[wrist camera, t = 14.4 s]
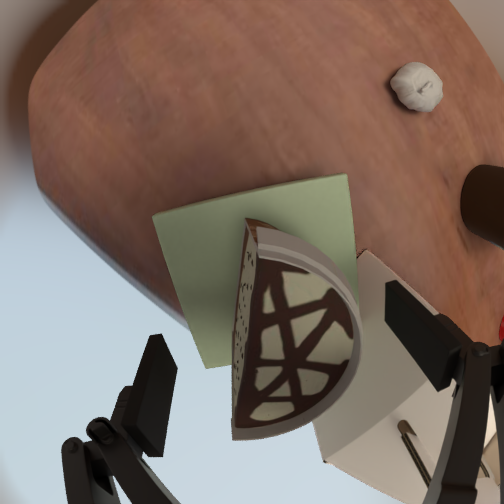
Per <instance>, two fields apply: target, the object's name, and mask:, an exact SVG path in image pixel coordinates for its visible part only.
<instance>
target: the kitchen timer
mask: <svg viewBox="0 0 504 504" xmlns="http://www.w3.org/2000/svg"><path fill="white" fill-rule="evenodd" d="M499 337H500V340H501V341H502V340H503V338H504V316H503V319H502V322H501V326H500V331H499Z"/></svg>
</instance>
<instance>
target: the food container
mask: <svg viewBox="0 0 504 504" xmlns="http://www.w3.org/2000/svg"><path fill="white" fill-rule="evenodd" d="M362 343H363V327H362V320H361V316H360V313H359V309H358V306H357V303H356V299H355V296H354V293H353V290H352V288H351V286H350V284H349V282H348V280H347V279H346V277H345V275H344V274H343V272H342V271H341V270H340V269H339V268H338V266H337V265H336V264H335V263H334V262H333V261H332V260H331V259H330V258H329V257H328V256H327V255H325V254H324V253H323V252H322V251H320V250H319V249H318V248H317V247H315V246H313V245H311V244H309V243H308V242H306V241H304V240H302V239H300V238H298V237H296V236H293V235H290V234H287V233H284V232H281V231H280V230H279V229H277V228H276V227H274V226H272V225H270V224H268V223H266V222H263V221H260V220H257V219H251V218H245V220H244V228H243V237H242V245H241V254H240V262H239V271H238V280H237V288H236V297H235V306H234V315H233V324H232V418H231V427H232V440H235V441H236V440H237V441H238V440H240V441H241V440H255V439H264V438H268V437H273V436H278V435H280V434H284V433H287V432H290V431H292V430H295V429H297V428H299V427H302V426H304V425H306V424H308V423H309V422H311V421H313V420H315V419H316V418H318V417H319V416H321V415H322V414H323V413H325V412H326V411H327V410H329V409H330V408H331V407H332V406H333V405H334V404H335V403H336V402H337V401H338V400H339V399H340V398H341V397H342V396H343V394H344V393H345V392H346V390H347V389H348V388H349V386H350V384H351V383H352V381H353V379H354V377H355V375H356V373H357V370H358V367H359V364H360V361H361V354H362V346H363V345H362Z"/></svg>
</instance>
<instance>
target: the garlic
mask: <svg viewBox="0 0 504 504" xmlns="http://www.w3.org/2000/svg"><path fill="white" fill-rule="evenodd" d="M390 84H391V87H392V89H393V90H394V91H395V92H396V93H397V95H398V98H399V100H400V101H401V102H402V103H403V104H404V105H405V106H406V107H407V108H408V109H414V110H416V111H423V112H431V111H432V110H433V108H434V107H435V106H437V104H438V103H439V102H440V101H441V99H442V97H443V93H442V85H443V83H442V81H441V80H440V78H439V76H438V75H437V74H436V73H435V72H434V71H433V70H432V69H431V68H429V67H427V66H426V65H425V64H423V63H420V62H410V63H407V64H405V65H404V66H403V67H401V68H400V69H399V71H398V72H397V73H396V75H395V76H394V77H393V78H392V79H391V81H390Z"/></svg>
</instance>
